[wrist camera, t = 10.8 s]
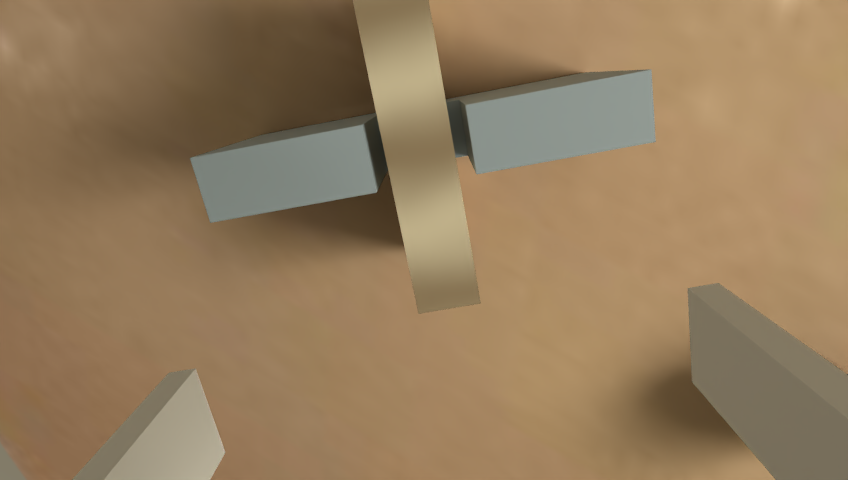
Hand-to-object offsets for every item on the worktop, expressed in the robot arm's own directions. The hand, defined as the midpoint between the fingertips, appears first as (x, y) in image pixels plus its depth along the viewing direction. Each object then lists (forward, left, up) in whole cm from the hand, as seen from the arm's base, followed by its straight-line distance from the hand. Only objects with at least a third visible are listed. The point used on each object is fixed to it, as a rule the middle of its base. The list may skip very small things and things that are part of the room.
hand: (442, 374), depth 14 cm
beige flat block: (+2, +4, -21) cm, 21 cm away
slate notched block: (+2, +4, -21) cm, 21 cm away
